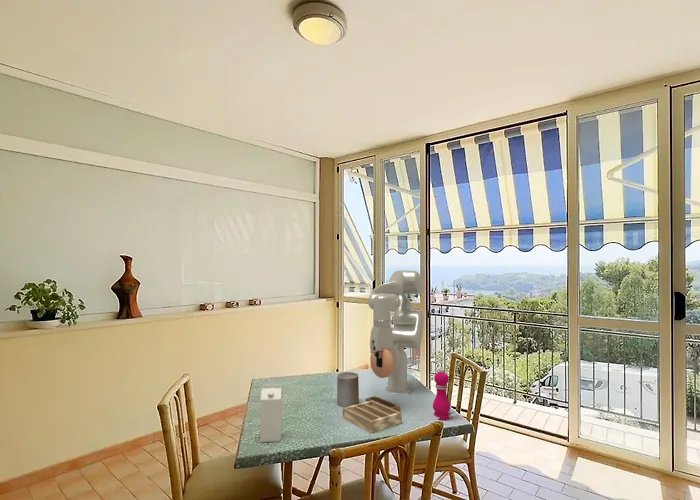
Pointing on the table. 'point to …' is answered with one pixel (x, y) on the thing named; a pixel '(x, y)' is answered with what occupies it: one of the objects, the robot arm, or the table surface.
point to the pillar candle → (347, 389)
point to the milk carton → (271, 413)
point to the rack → (372, 416)
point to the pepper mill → (441, 396)
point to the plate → (383, 364)
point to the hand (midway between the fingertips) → (382, 366)
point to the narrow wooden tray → (384, 402)
